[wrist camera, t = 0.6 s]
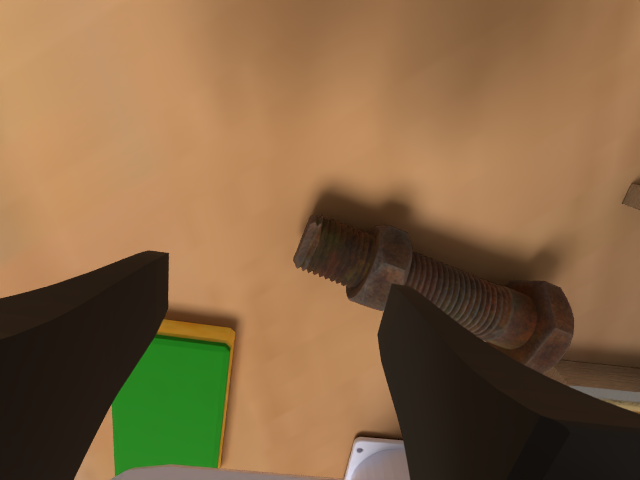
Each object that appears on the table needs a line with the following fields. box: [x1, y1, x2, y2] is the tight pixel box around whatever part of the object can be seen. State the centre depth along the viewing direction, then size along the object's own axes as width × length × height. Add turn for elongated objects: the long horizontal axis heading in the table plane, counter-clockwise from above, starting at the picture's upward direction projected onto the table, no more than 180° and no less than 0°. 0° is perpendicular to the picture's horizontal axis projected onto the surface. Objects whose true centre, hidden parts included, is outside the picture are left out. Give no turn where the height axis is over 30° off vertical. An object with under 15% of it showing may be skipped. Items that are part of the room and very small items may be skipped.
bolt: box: [293, 214, 574, 374], centre depth 20 cm, size 6×5×15 cm
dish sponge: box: [112, 319, 235, 477], centre depth 25 cm, size 7×14×2 cm, turn 170°
